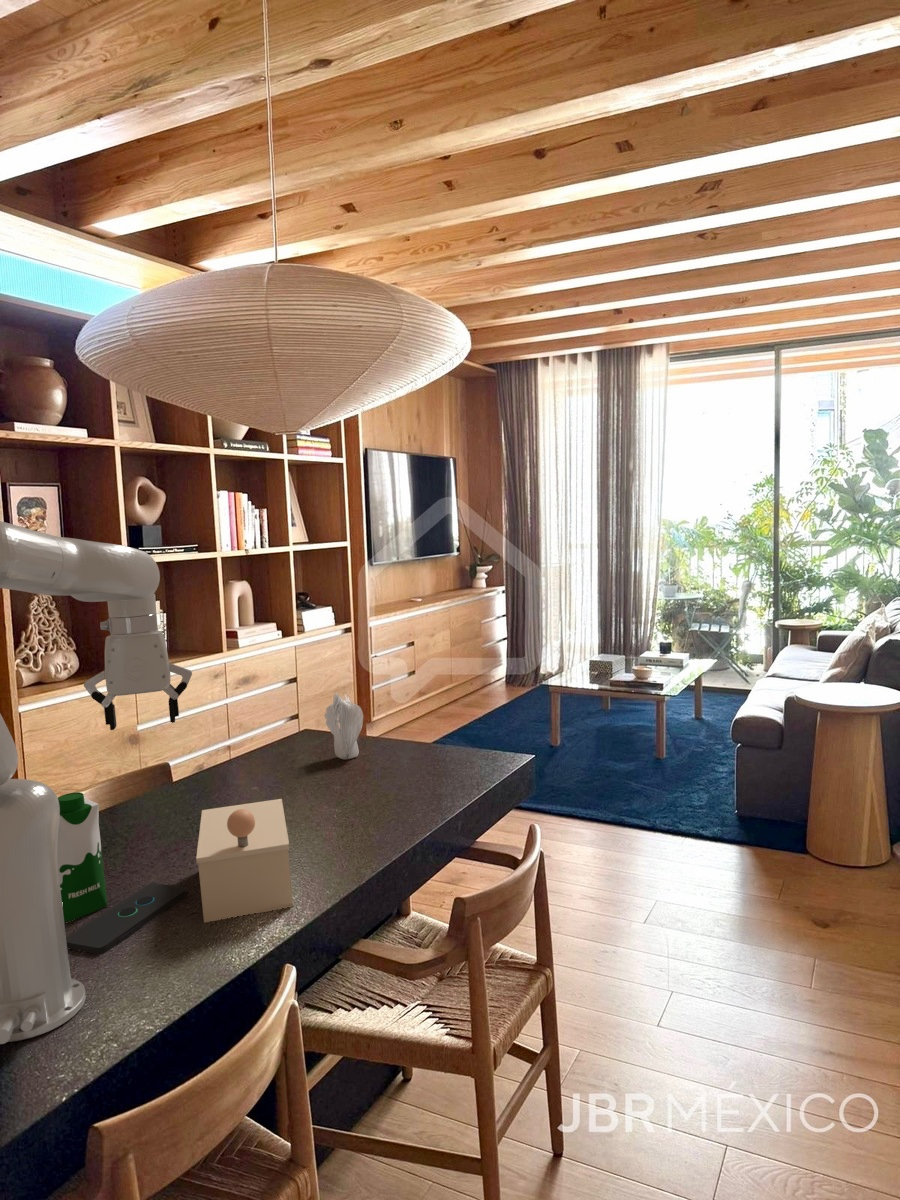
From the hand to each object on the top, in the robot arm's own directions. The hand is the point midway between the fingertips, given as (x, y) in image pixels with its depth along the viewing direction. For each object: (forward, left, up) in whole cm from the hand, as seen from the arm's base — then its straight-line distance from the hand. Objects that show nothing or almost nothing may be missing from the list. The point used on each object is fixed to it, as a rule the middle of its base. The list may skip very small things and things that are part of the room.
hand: (143, 724), depth 139 cm
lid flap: (-5, -15, -19) cm, 25 cm away
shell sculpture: (+63, -41, -30) cm, 81 cm away
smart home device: (-10, +4, -30) cm, 32 cm away
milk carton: (-3, +13, -30) cm, 33 cm away
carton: (-5, -15, -30) cm, 33 cm away
